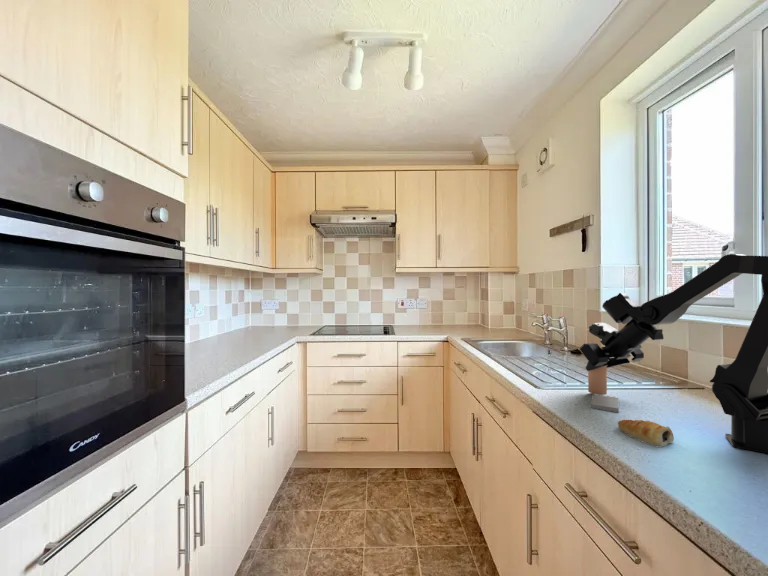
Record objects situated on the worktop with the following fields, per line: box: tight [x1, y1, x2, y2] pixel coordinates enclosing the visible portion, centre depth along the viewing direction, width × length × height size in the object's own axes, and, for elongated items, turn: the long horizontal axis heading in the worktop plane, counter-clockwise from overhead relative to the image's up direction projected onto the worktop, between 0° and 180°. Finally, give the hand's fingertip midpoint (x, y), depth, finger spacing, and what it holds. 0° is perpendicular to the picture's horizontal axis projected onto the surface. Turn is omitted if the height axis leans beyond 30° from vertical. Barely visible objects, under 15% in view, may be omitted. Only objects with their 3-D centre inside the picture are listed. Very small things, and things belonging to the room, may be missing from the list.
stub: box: [587, 366, 608, 396], centre depth 100 cm, size 5×5×12 cm
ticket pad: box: [590, 393, 619, 413], centre depth 92 cm, size 10×6×1 cm, turn 146°
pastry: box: [617, 419, 675, 448], centre depth 73 cm, size 9×7×4 cm
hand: (593, 368), depth 101 cm, fingers closed on stub, 5 cm apart
